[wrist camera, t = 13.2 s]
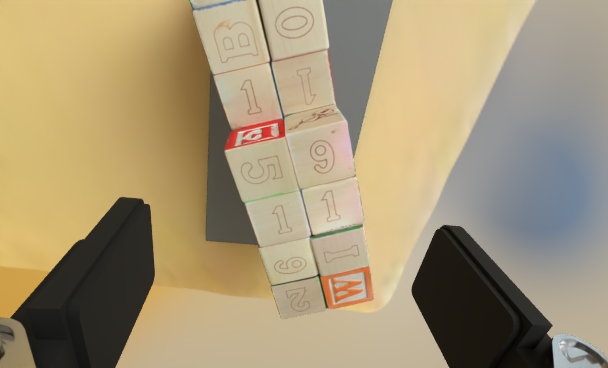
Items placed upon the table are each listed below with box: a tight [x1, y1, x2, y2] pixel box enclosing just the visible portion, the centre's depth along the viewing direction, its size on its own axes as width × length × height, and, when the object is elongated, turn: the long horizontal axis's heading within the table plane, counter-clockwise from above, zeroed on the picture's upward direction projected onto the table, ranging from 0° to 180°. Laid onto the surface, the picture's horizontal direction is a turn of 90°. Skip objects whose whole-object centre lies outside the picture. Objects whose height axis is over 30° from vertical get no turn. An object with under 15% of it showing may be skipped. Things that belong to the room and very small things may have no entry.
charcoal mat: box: [206, 0, 393, 245], centre depth 27 cm, size 27×13×1 cm, turn 171°
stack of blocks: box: [189, 0, 374, 319], centre depth 21 cm, size 21×6×12 cm, turn 11°
